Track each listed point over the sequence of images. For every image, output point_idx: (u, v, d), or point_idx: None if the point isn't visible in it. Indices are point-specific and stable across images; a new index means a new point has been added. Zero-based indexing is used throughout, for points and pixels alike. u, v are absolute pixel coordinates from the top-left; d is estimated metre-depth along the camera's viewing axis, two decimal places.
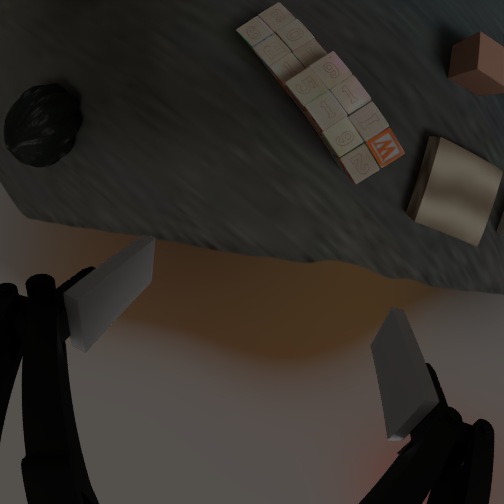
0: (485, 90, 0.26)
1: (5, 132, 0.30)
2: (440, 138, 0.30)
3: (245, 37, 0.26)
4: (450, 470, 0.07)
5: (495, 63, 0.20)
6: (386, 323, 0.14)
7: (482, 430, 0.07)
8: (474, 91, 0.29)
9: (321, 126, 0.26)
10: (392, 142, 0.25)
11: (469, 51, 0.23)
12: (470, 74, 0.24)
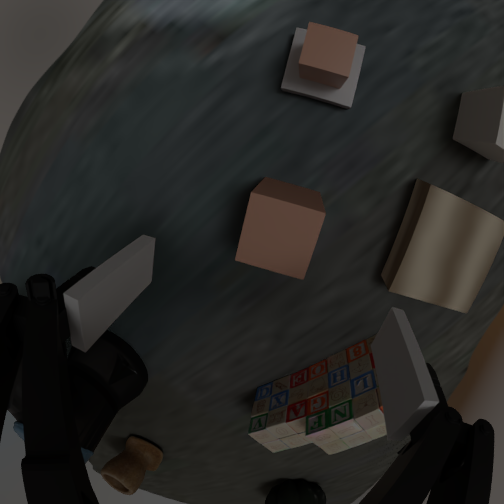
0: None
1: None
2: (390, 290, 0.29)
3: (281, 449, 0.35)
4: (450, 470, 0.07)
5: (284, 242, 0.24)
6: (386, 323, 0.14)
7: (482, 430, 0.07)
8: None
9: (368, 440, 0.28)
10: None
11: None
12: None
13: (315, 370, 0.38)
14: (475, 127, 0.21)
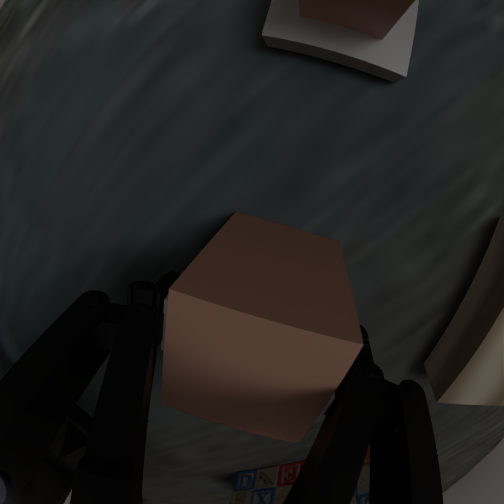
0: None
1: None
2: (439, 401, 0.15)
3: None
4: (385, 436, 0.09)
5: (257, 393, 0.10)
6: None
7: (409, 392, 0.09)
8: None
9: None
10: None
11: None
12: None
13: None
14: None
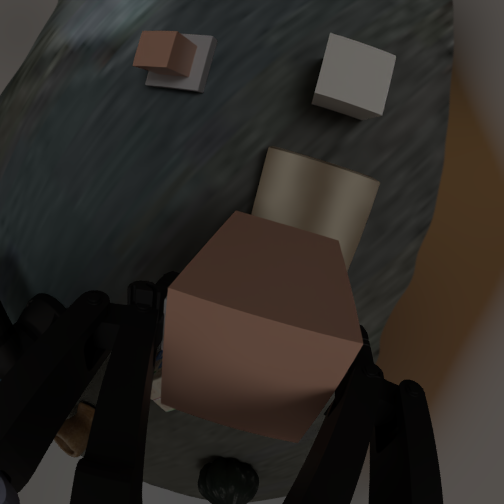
0: None
1: None
2: None
3: (171, 409, 0.40)
4: (385, 436, 0.09)
5: (256, 393, 0.10)
6: None
7: (409, 392, 0.09)
8: None
9: None
10: None
11: None
12: None
13: None
14: None
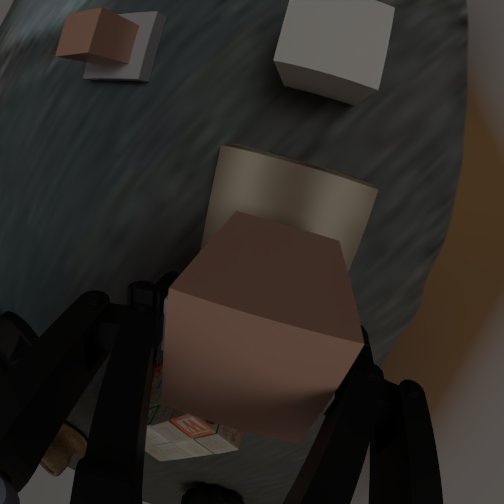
0: None
1: None
2: None
3: None
4: (385, 436, 0.09)
5: (257, 393, 0.10)
6: None
7: (409, 392, 0.09)
8: None
9: (188, 457, 0.25)
10: (184, 420, 0.22)
11: None
12: None
13: (161, 369, 0.35)
14: None
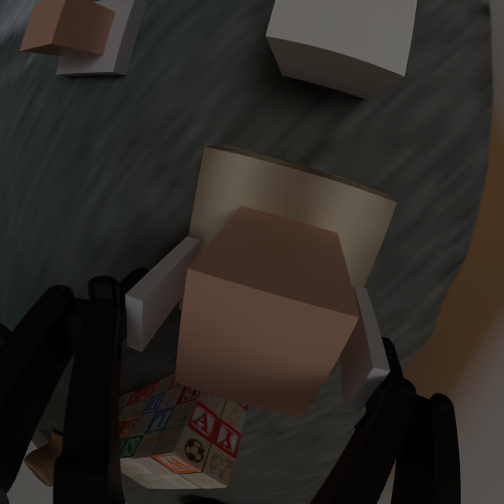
0: None
1: None
2: (181, 308, 0.22)
3: None
4: (412, 448, 0.08)
5: (264, 366, 0.11)
6: None
7: (439, 405, 0.08)
8: None
9: (175, 488, 0.21)
10: (167, 457, 0.18)
11: None
12: None
13: (148, 391, 0.31)
14: None
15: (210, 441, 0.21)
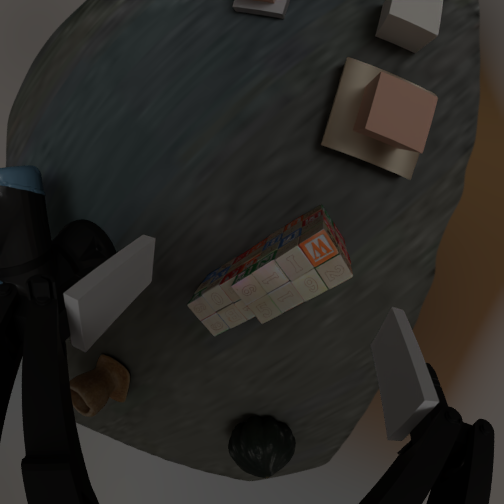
0: None
1: (256, 475, 0.49)
2: (323, 145, 0.33)
3: (221, 331, 0.40)
4: (450, 470, 0.07)
5: (407, 116, 0.22)
6: (386, 323, 0.14)
7: (482, 430, 0.07)
8: None
9: (300, 302, 0.33)
10: (313, 241, 0.30)
11: (384, 139, 0.26)
12: None
13: (256, 247, 0.43)
14: (383, 16, 0.25)
15: (337, 241, 0.33)
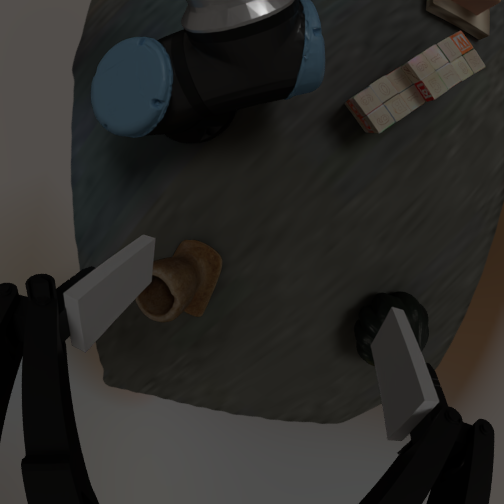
0: None
1: None
2: (434, 3, 0.28)
3: (387, 126, 0.35)
4: (450, 470, 0.07)
5: None
6: (386, 323, 0.14)
7: (482, 430, 0.07)
8: None
9: (459, 81, 0.27)
10: (457, 37, 0.24)
11: None
12: (492, 3, 0.20)
13: None
14: None
15: None
